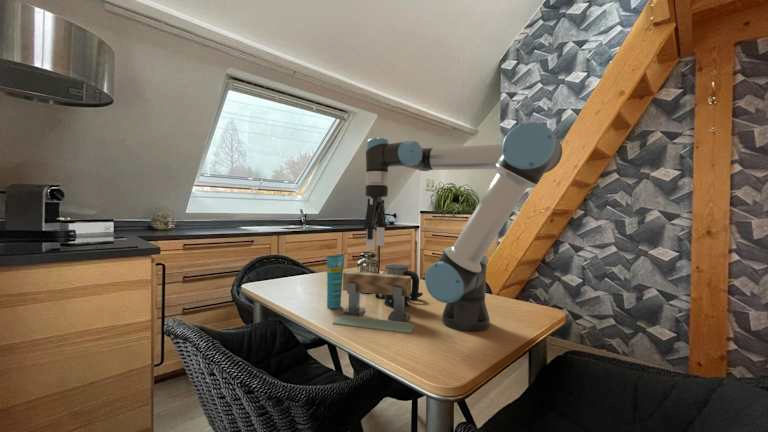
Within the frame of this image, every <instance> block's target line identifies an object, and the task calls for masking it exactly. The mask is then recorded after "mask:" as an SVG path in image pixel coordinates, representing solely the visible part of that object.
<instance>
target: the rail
mask: <svg viewBox="0 0 768 432" xmlns="http://www.w3.org/2000/svg"><path fill="white" fill-rule="evenodd" d="M411 277H412V276H402V275H390V274H386V273H377V272H376V273H375V272H365V271H364V272H363V271H362V272H361V271H353V270H352V271H351V270H347V271H343V277H342V291H346V292H347V284H348V282H349V283H357V288H356V292H360V293H366V294H375V295H377V294H378V295H385V294H386V295H393V287H403V293H402V296H407V297H409V296H410V294H411V292H412V279H411Z"/></svg>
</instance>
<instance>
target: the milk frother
mask: <svg viewBox="0 0 768 432" xmlns="http://www.w3.org/2000/svg"><path fill="white" fill-rule="evenodd" d="M384 267H385V274H390V275H402V276H412V277H411V294H410V296H409V297H407V296H404V307H406V306H408V305H409V303H408V302H409V301H411V302H416V301H417V300H418V298H420V297H422V296H423V295H424V293H423V292H419V291H420V290H419V289H420V288H419V287H420V278H419V275H418V274H417V273H416V272H415V271H414V270H409V265H406V264H398V263H397V264H386V265H385V266H384ZM383 303H384V305H385V306H387V307H392V308H394V299H393V295H386V294H384V301H383Z"/></svg>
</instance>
